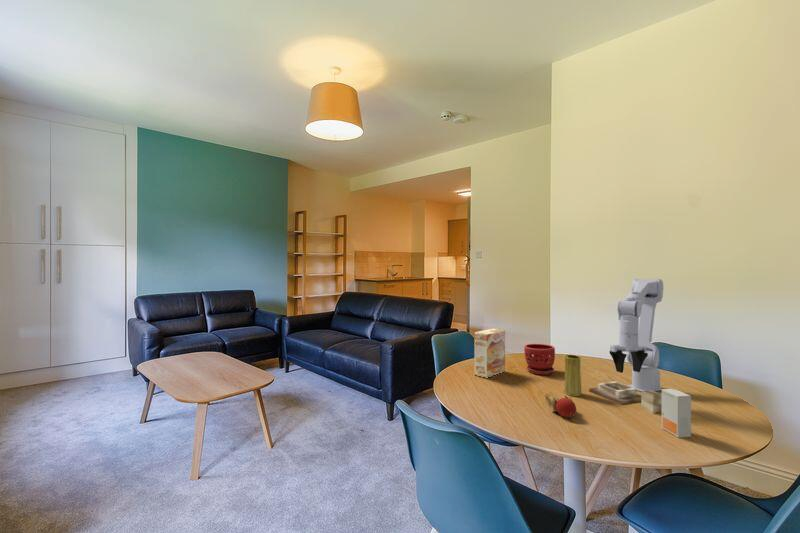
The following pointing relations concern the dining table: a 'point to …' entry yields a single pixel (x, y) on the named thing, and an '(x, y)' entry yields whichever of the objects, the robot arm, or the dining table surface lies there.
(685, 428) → the skincare box
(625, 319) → the robot arm
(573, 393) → the vase
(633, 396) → the socket board
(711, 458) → the dining table surface
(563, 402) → the kendama
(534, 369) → the plant pot
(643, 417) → the dining table surface
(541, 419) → the dining table surface
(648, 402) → the birch peg
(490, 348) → the coffeecake box
